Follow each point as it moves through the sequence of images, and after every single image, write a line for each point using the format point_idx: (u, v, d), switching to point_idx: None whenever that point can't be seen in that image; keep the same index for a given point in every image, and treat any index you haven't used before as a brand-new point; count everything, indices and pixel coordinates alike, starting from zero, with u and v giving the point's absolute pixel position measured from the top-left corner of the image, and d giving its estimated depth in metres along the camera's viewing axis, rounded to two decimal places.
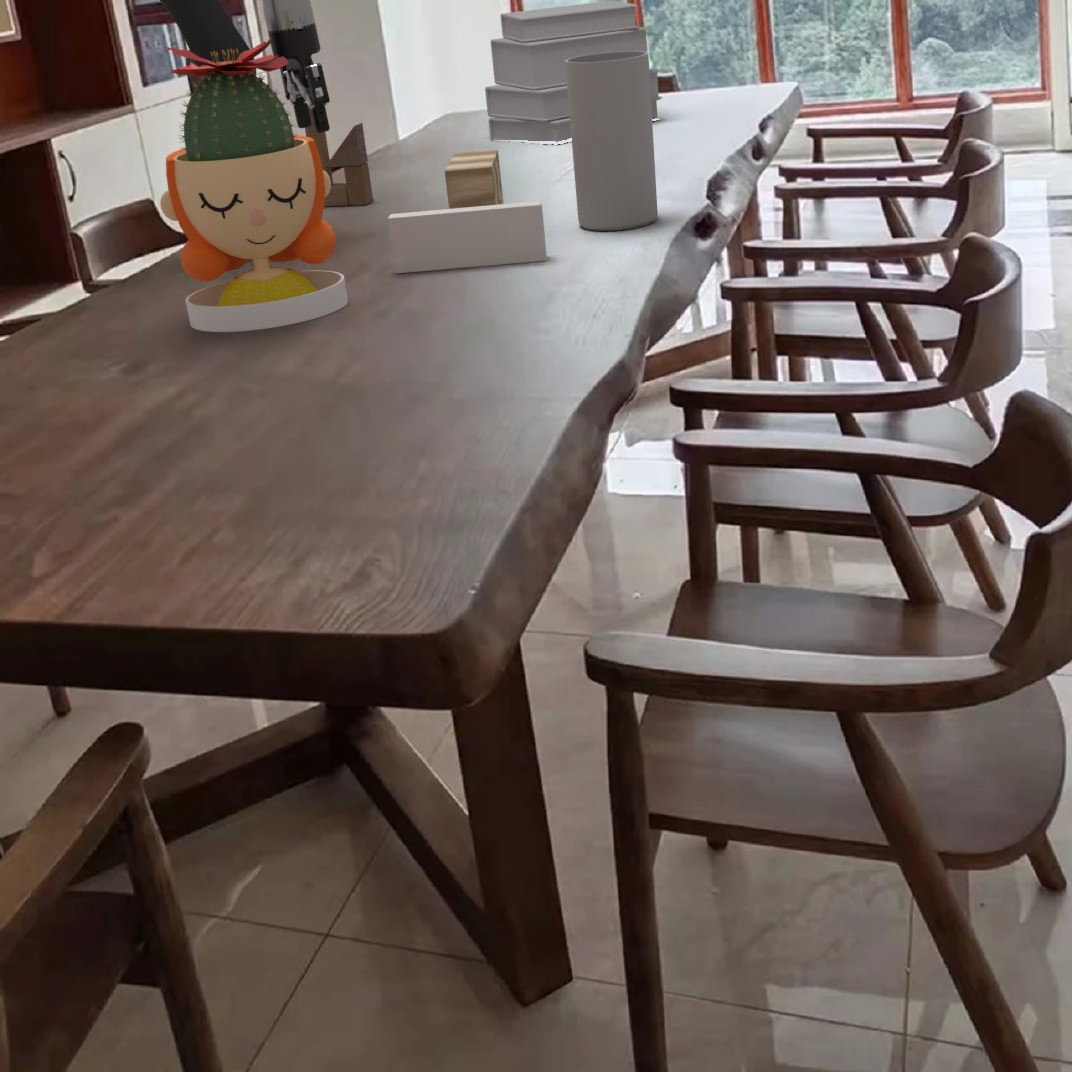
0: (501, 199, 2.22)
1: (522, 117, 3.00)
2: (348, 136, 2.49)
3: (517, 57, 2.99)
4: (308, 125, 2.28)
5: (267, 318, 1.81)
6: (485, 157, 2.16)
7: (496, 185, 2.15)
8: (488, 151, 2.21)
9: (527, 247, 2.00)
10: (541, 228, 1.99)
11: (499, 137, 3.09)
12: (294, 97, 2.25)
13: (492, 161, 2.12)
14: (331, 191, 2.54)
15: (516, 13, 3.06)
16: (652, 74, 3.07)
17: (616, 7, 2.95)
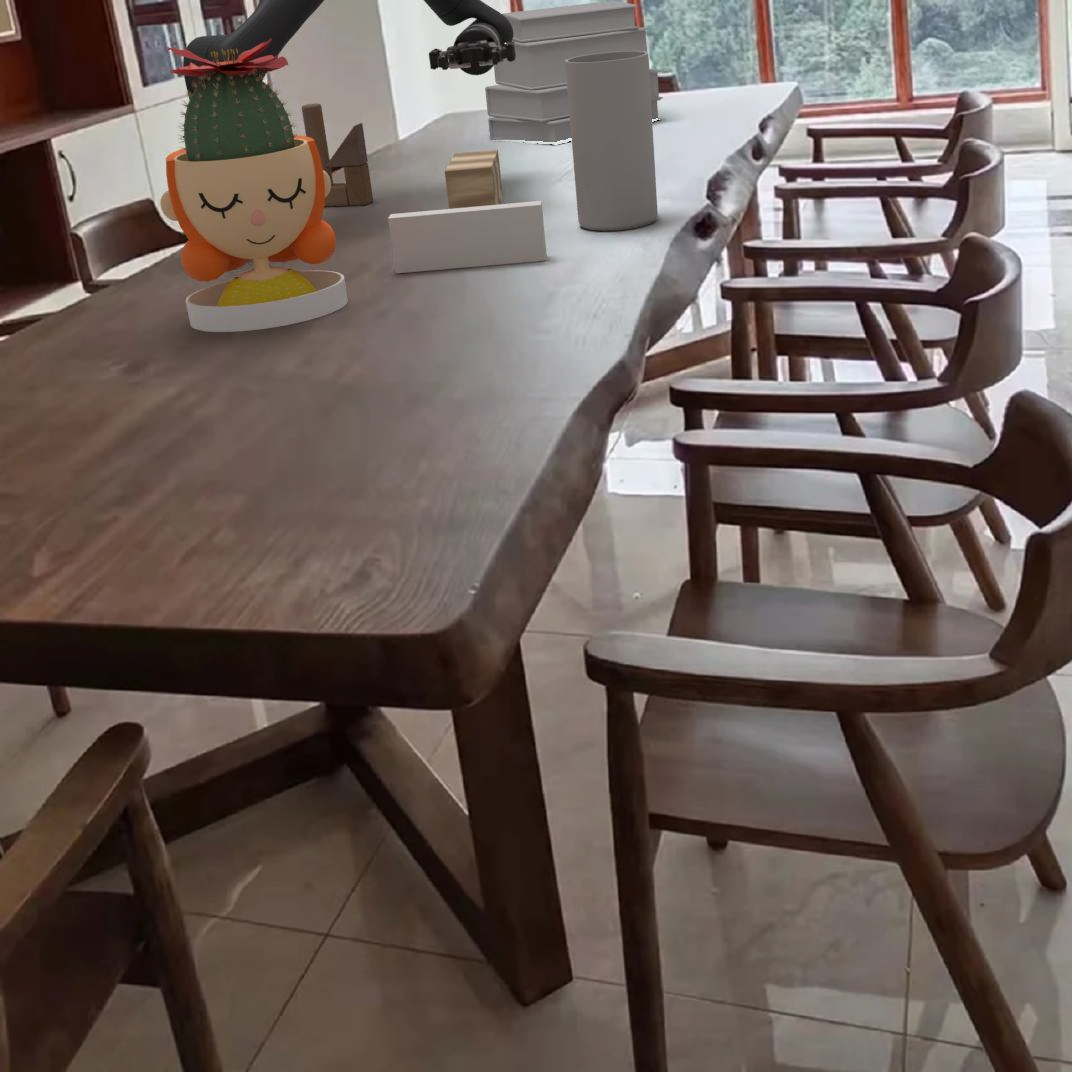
0: (501, 199, 2.22)
1: (521, 117, 3.01)
2: (348, 136, 2.49)
3: (516, 57, 2.99)
4: (446, 65, 2.22)
5: (267, 318, 1.81)
6: (485, 157, 2.16)
7: (496, 185, 2.15)
8: (488, 151, 2.21)
9: (527, 247, 2.00)
10: (541, 228, 1.99)
11: (499, 137, 3.09)
12: (450, 52, 2.26)
13: (492, 161, 2.12)
14: (331, 191, 2.54)
15: (517, 13, 3.06)
16: (652, 74, 3.07)
17: (615, 7, 2.95)
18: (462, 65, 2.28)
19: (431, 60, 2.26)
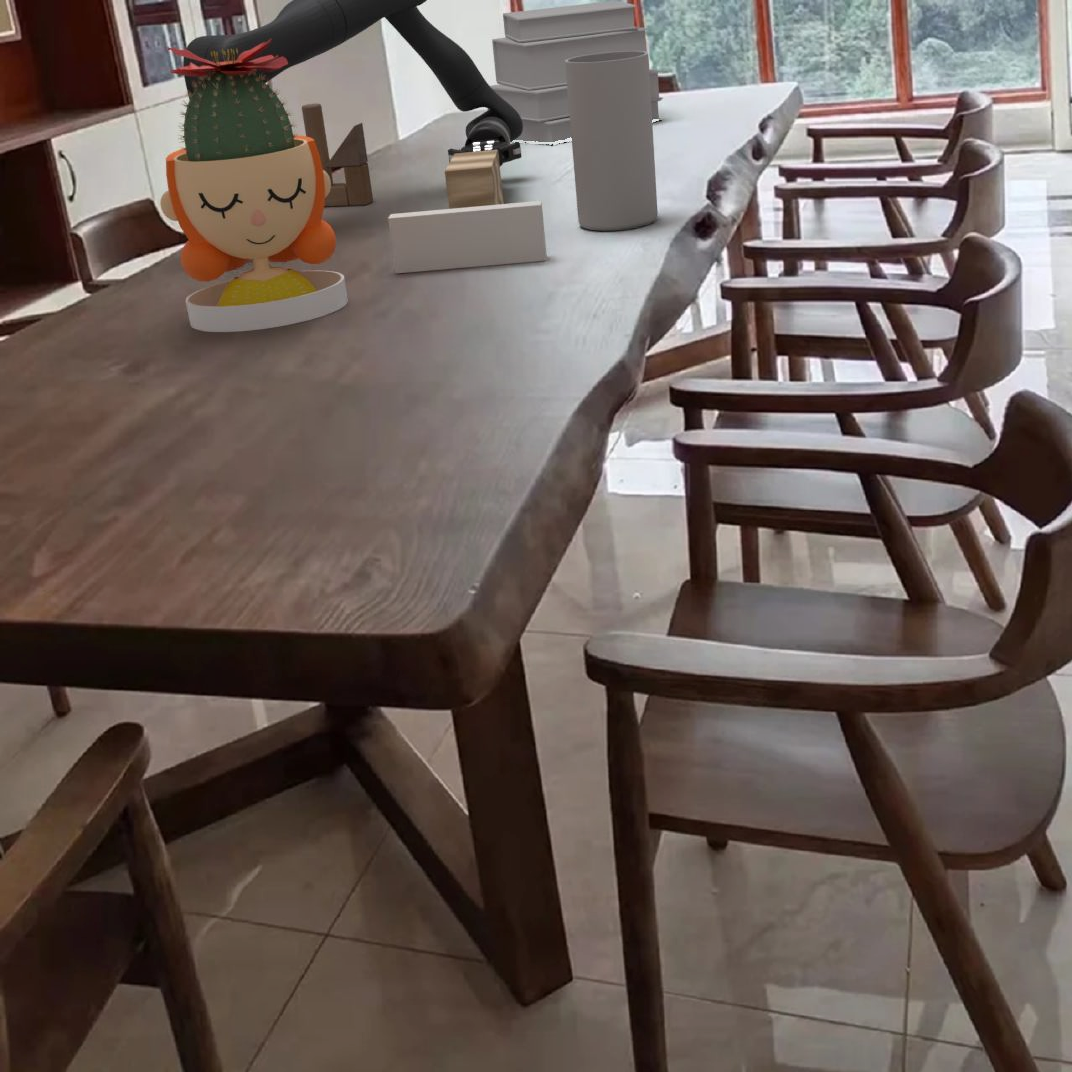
0: (501, 199, 2.22)
1: None
2: (348, 136, 2.49)
3: (515, 57, 2.99)
4: None
5: (267, 318, 1.81)
6: (485, 157, 2.16)
7: (496, 185, 2.15)
8: (488, 151, 2.21)
9: (527, 247, 2.00)
10: (541, 228, 1.99)
11: None
12: None
13: (492, 161, 2.12)
14: (331, 191, 2.54)
15: (517, 13, 3.07)
16: (652, 75, 3.06)
17: (614, 8, 2.95)
18: None
19: None
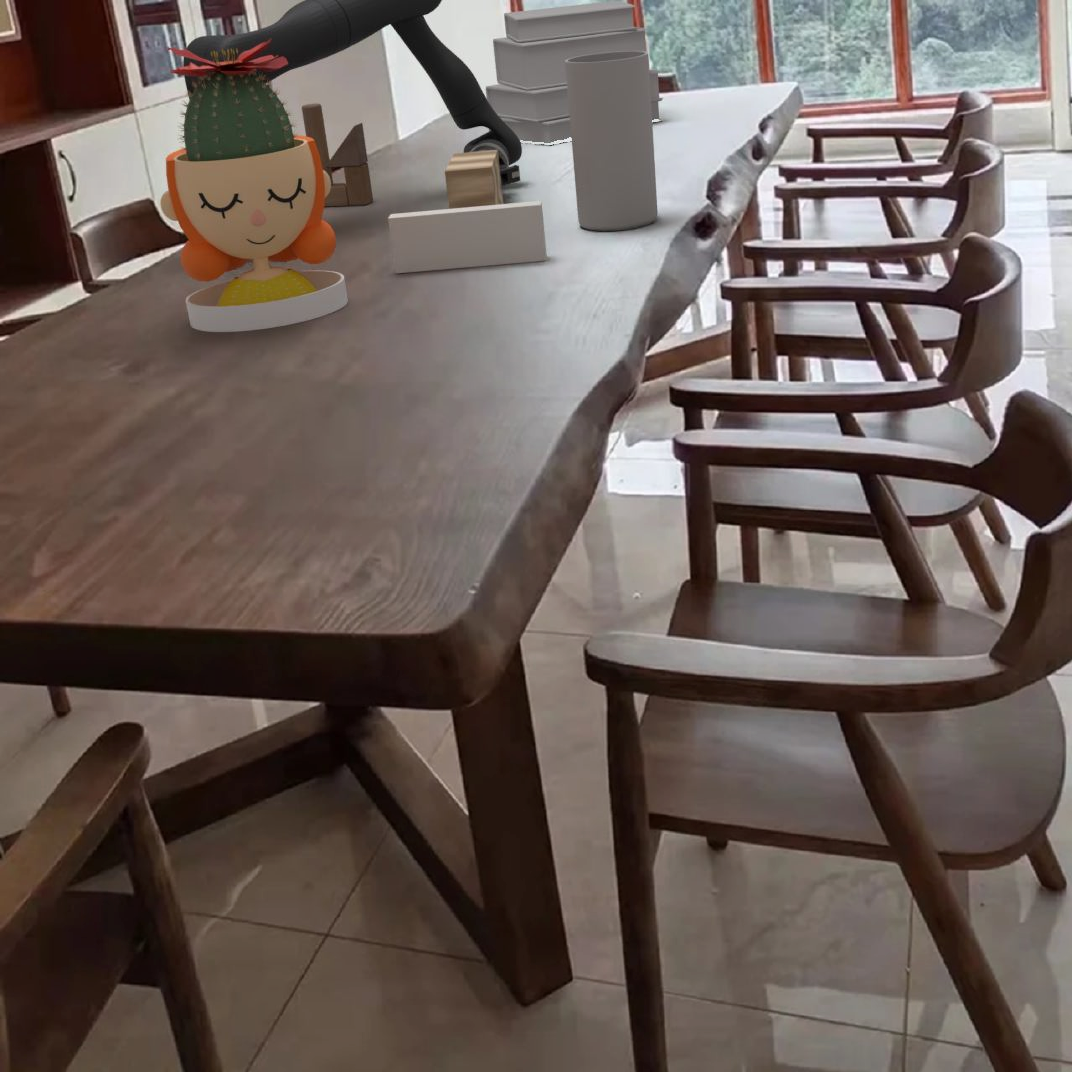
0: (501, 199, 2.22)
1: (517, 117, 3.01)
2: (348, 136, 2.49)
3: (514, 57, 2.99)
4: None
5: (267, 318, 1.81)
6: (485, 157, 2.16)
7: (496, 185, 2.14)
8: (488, 151, 2.21)
9: (527, 247, 2.00)
10: (541, 228, 1.99)
11: None
12: None
13: (492, 161, 2.12)
14: (331, 191, 2.54)
15: (518, 13, 3.07)
16: (652, 75, 3.05)
17: (613, 8, 2.94)
18: None
19: None
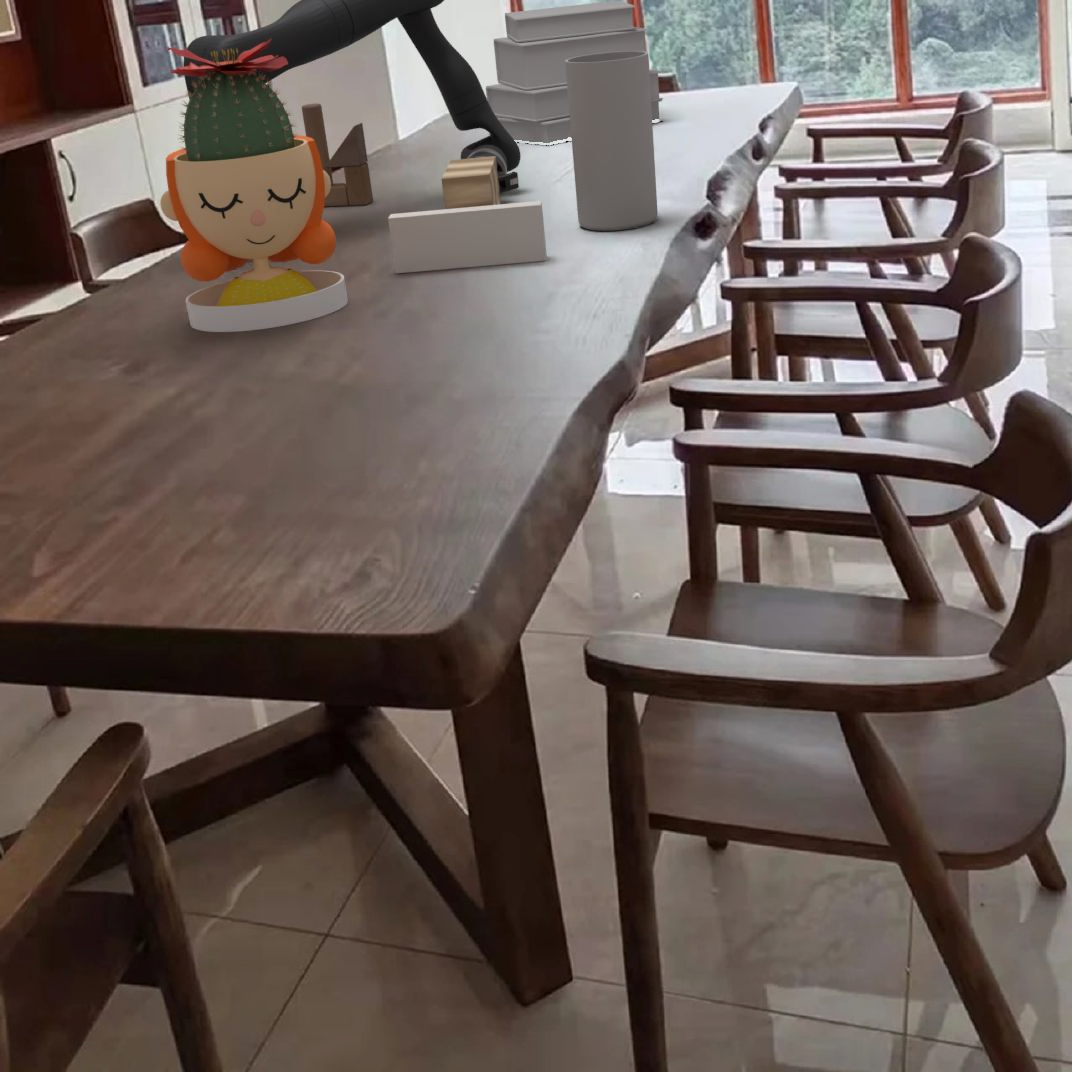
0: None
1: (517, 117, 3.01)
2: (348, 136, 2.49)
3: (513, 57, 3.00)
4: None
5: (267, 318, 1.81)
6: (483, 164, 2.10)
7: (494, 193, 2.08)
8: (486, 158, 2.15)
9: (527, 247, 2.00)
10: (541, 228, 1.99)
11: None
12: None
13: (490, 168, 2.06)
14: (331, 191, 2.54)
15: None
16: (652, 75, 3.05)
17: (613, 8, 2.94)
18: None
19: None
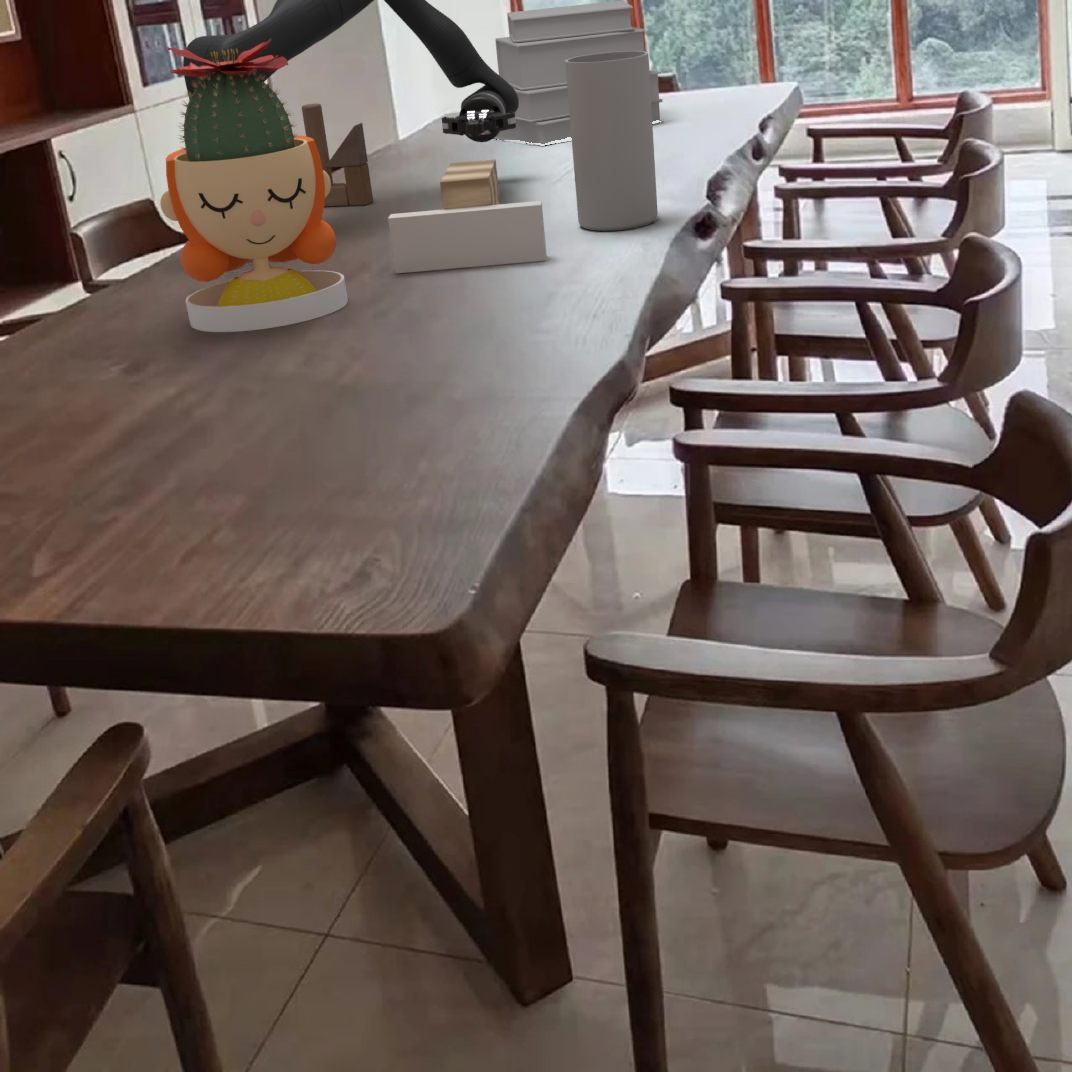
0: None
1: None
2: (348, 136, 2.49)
3: (512, 57, 3.00)
4: None
5: (267, 318, 1.81)
6: (482, 167, 2.08)
7: None
8: (485, 161, 2.13)
9: (527, 247, 2.00)
10: (541, 228, 1.99)
11: (497, 135, 3.11)
12: None
13: (489, 171, 2.04)
14: (331, 191, 2.54)
15: (520, 12, 3.07)
16: (652, 76, 3.04)
17: (610, 8, 2.93)
18: None
19: (461, 126, 2.29)
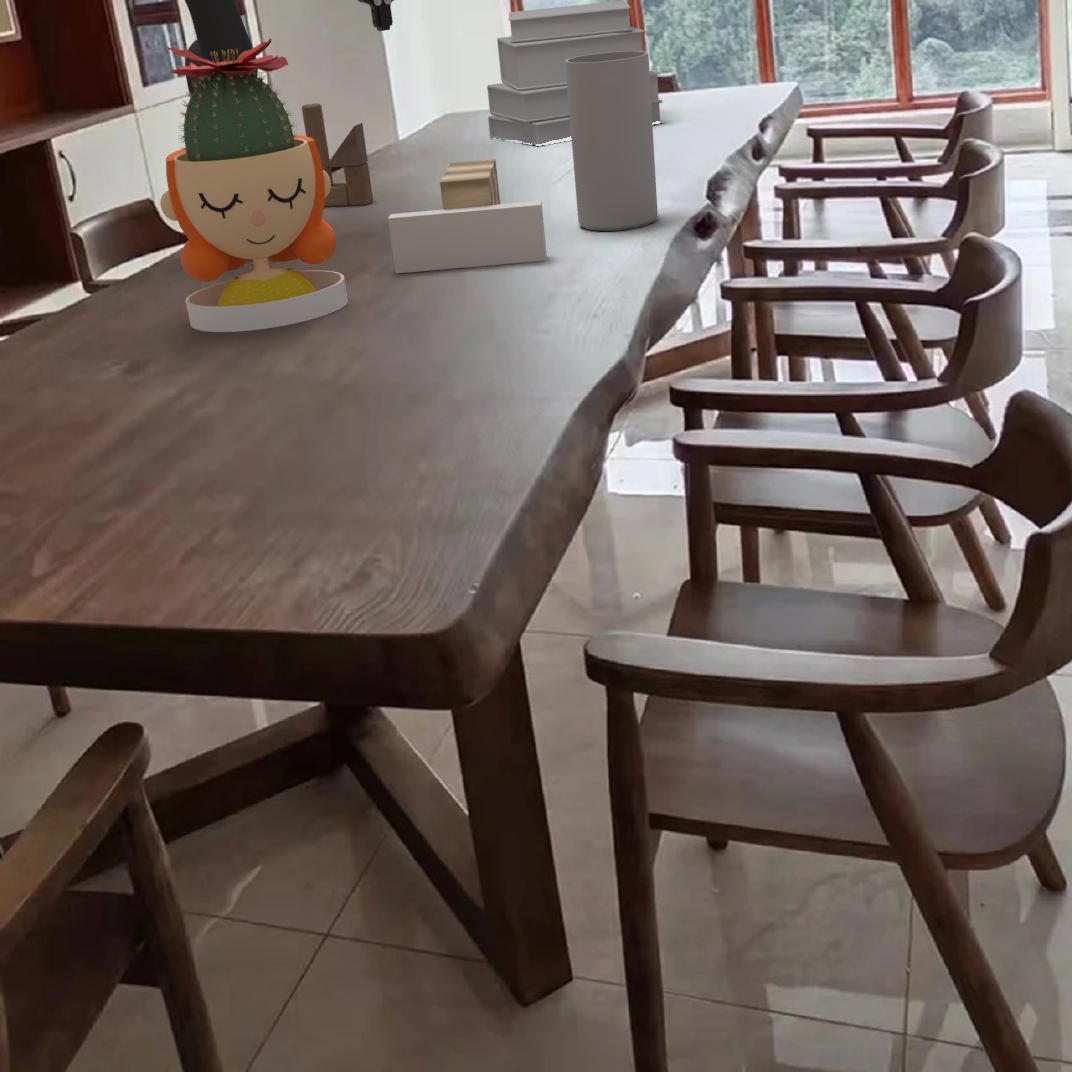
0: None
1: (512, 117, 3.02)
2: (348, 136, 2.49)
3: (510, 57, 3.00)
4: None
5: (267, 318, 1.81)
6: (482, 167, 2.08)
7: None
8: (485, 161, 2.13)
9: (527, 247, 2.00)
10: (541, 228, 1.99)
11: (497, 135, 3.11)
12: None
13: (489, 171, 2.04)
14: (331, 191, 2.54)
15: (522, 12, 3.07)
16: (651, 77, 3.03)
17: (608, 9, 2.93)
18: None
19: None
